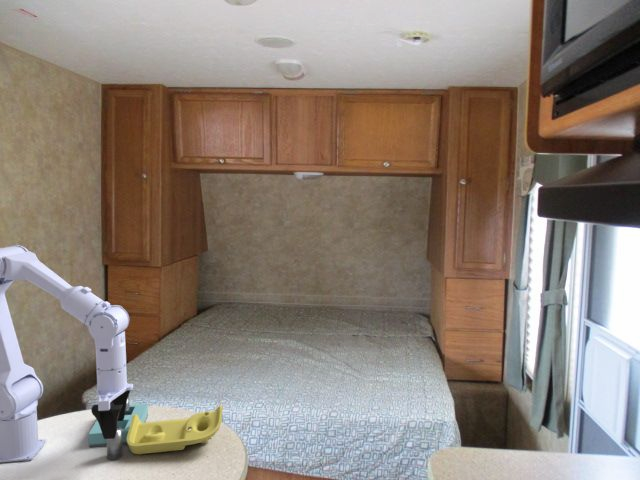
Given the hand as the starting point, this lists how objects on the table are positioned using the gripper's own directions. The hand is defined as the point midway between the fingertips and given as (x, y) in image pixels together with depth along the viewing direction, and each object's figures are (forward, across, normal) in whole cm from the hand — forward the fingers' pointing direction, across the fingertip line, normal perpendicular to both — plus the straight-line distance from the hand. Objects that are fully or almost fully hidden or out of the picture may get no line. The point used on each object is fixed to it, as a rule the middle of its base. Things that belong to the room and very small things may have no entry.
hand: (114, 428), depth 104 cm
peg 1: (+6, 0, 0) cm, 6 cm away
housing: (+6, +12, +2) cm, 14 cm away
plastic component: (+6, +3, -12) cm, 14 cm away
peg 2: (+6, +15, +2) cm, 16 cm away
